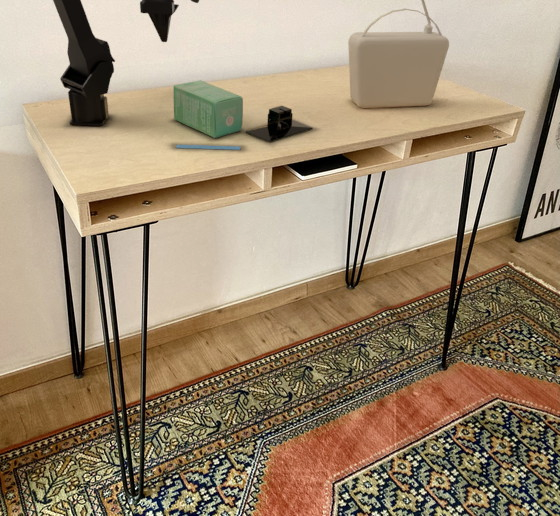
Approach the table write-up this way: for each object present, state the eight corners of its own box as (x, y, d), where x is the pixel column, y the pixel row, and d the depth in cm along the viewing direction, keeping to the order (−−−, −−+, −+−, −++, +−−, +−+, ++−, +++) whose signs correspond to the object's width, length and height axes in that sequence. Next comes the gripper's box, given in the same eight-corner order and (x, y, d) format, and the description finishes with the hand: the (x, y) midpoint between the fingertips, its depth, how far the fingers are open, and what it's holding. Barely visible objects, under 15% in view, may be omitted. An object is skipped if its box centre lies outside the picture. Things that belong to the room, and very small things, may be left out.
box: (215, 139, 121) (215, 101, 117) (173, 121, 129) (171, 85, 125) (243, 131, 126) (244, 94, 122) (201, 114, 134) (200, 79, 130)
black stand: (269, 143, 121) (269, 120, 119) (244, 132, 125) (244, 110, 123) (312, 129, 129) (314, 107, 126) (287, 119, 133) (288, 98, 130)
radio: (424, 95, 152) (443, -16, 139) (440, 106, 145) (461, -10, 132) (339, 98, 147) (350, -17, 134) (351, 109, 140) (363, -10, 127)
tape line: (175, 148, 117) (175, 147, 117) (176, 145, 118) (176, 144, 118) (240, 149, 117) (240, 149, 117) (240, 146, 119) (240, 146, 119)
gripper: (196, -31, 117) (198, 54, 125) (204, -43, 133) (205, 33, 141) (136, -34, 117) (142, 51, 125) (151, -45, 133) (156, 31, 141)
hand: (164, 41), depth 133 cm, fingers closed
